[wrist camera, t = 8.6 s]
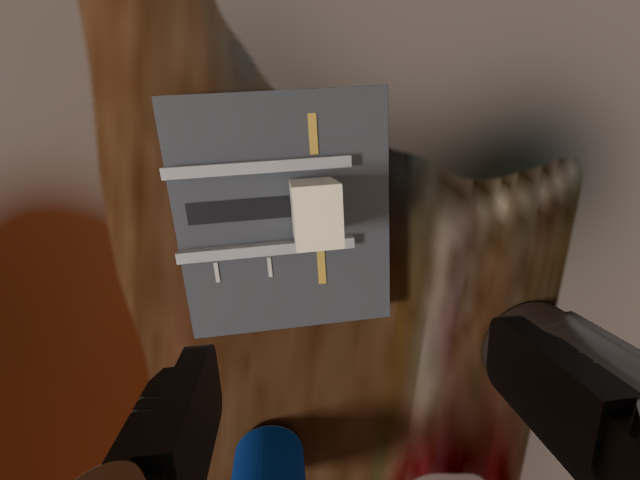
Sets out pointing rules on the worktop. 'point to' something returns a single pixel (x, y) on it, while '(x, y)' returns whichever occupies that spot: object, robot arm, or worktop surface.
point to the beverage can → (269, 455)
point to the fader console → (276, 204)
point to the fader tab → (317, 214)
